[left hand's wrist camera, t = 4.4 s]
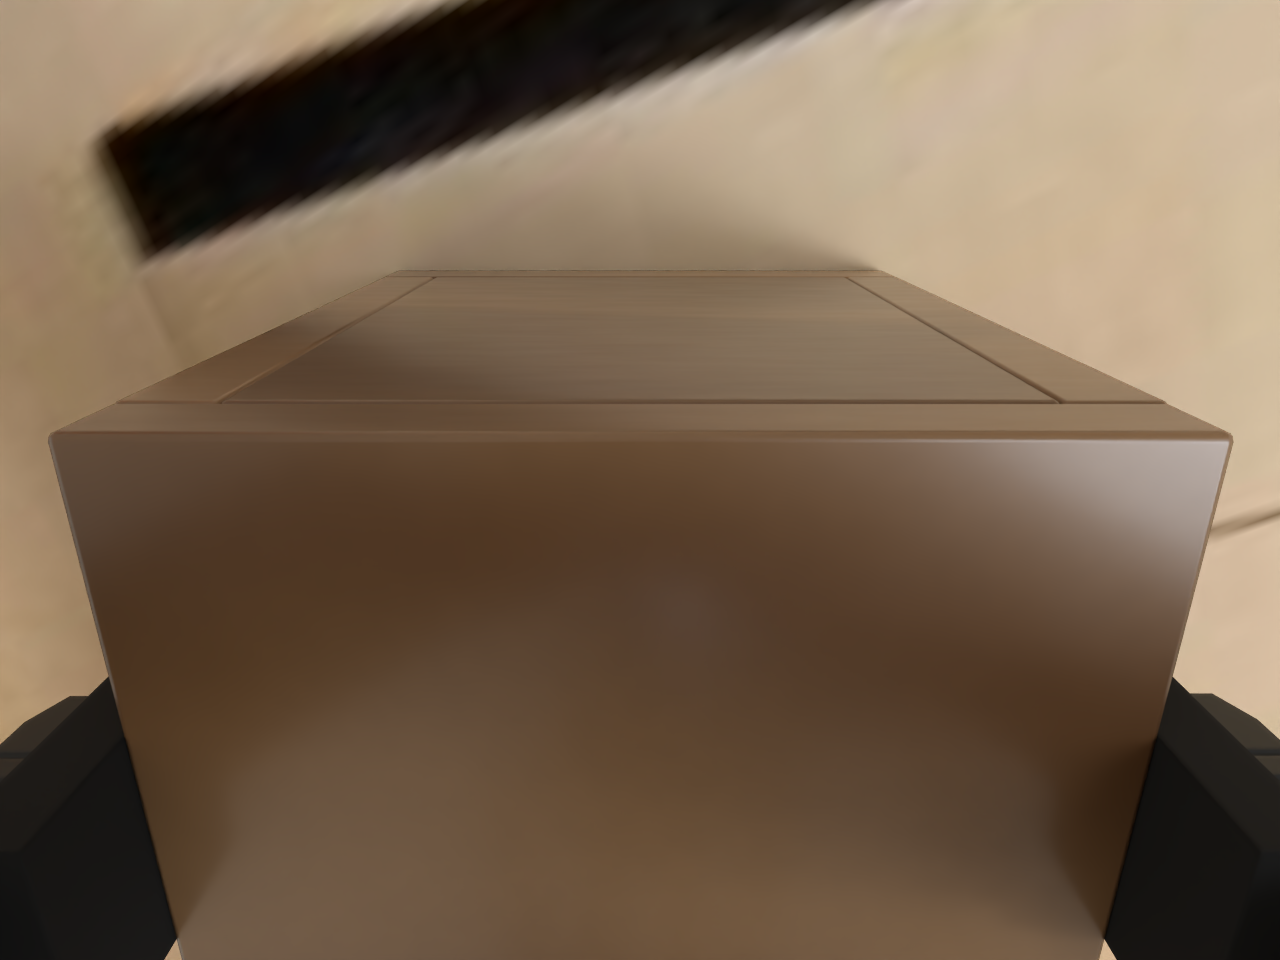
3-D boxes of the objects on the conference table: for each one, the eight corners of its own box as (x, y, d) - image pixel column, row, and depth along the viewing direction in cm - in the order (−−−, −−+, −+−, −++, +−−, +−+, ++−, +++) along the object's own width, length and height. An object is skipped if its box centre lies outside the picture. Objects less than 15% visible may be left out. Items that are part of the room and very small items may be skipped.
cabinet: (822, 884, 24) (970, 1468, 13) (457, 884, 24) (310, 1467, 13) (884, 270, 18) (1241, 433, 7) (396, 270, 18) (40, 433, 7)
